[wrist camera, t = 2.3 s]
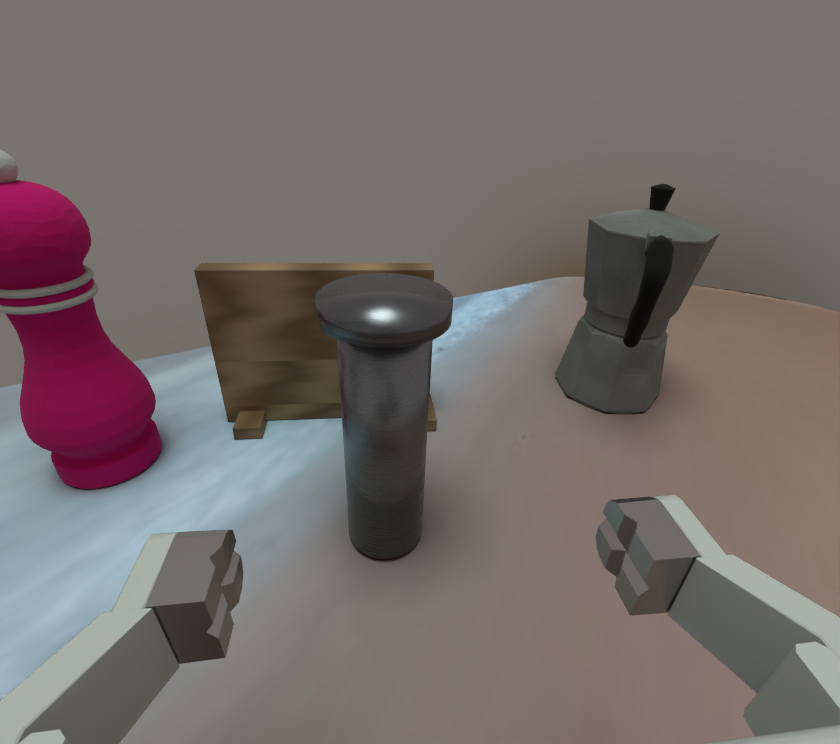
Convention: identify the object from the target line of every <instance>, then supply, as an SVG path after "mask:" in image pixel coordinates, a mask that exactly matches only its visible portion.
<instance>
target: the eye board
mask: <svg viewBox="0 0 840 744" xmlns="http://www.w3.org/2000/svg"><path fill="white" fill-rule="evenodd" d="M194 271H195V276H196V280H197V285H198V289H199V294H200V298H201V303H202V307H203V311H204V316H205V320H206V325H207V329H208V334H209V338H210V343H211V347H212V351H213V356H214V360H215V365H216V369H217V374H218V378H219V383H220V387H221V391H222V396H223V400H224V405H225V409H226V414H227V418H228V422H235V424H234V426H233V433H234V438H235V439H255V438H262V436H263V433H264V429H265V426H266V422H267V420H291V419H317V418H342V410H341V394H340V378H339V362H338V347H337V339H335V338H333V337H331V336H329V335H328V334H326V333H325V332H324V331H323V330H322V329H321V328H320V327H319V325H318V322H317V312H316V301H315V297H316V294H317V292H318V291H319V290H320V289H321V288H322V287H323V286H325V285H326V284H328V283H330V282H332V281H335V280H338V279H341V278H344V277H349V276H354V275H361V274H371V273H393V274H404V275H411V276H416V277H421V278H425V279H428V280H431V281H433V280H434V269H433V267H432V264H415V263H414V264H412V263H410V264H409V263H408V264H407V263H406V264H405V263H401V264H400V263H399V264H398V263H397V264H396V263H391V264H390V263H389V264H388V263H384V264H382V263H380V264H379V263H375V264H374V263H366V264H365V263H363V264H360V263H356V264H355V263H353V264H352V263H351V264H350V263H348V264H347V263H346V264H344V263H342V264H340V263H339V264H338V263H337V264H336V263H335V264H334V263H333V264H332V263H331V264H330V263H320V264H319V263H317V264H316V263H315V264H314V263H310V264H309V263H302V264H300V263H286V264H285V263H284V264H283V263H277V264H276V263H274V264H273V263H270V264H269V263H264V264H263V263H262V264H261V263H258V264H257V263H251V264H250V263H209V264H208V263H201V264H200V265H199V266H198V267H197V268H196V269H195V270H194ZM436 422H437V420H436V416H435V412H434V408H433V404H432V400H431V395H430V392H429V410H428V427H427V431H436Z"/></svg>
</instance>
